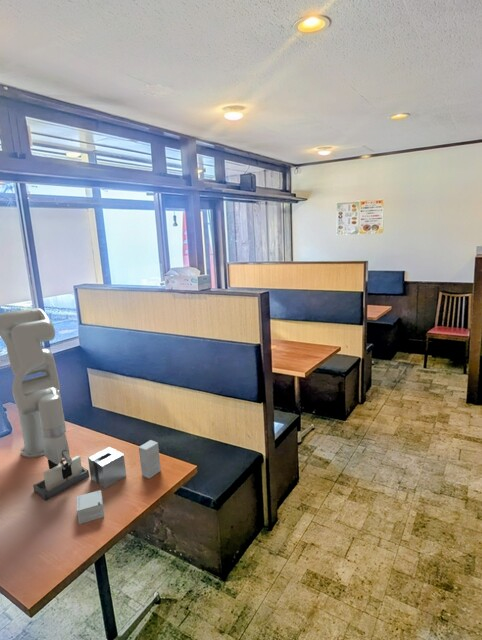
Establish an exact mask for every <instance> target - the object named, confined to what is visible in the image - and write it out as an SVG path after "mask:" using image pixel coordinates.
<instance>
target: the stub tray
mask: <svg viewBox="0 0 482 640" xmlns="http://www.w3.org/2000/svg"><path fill="white" fill-rule="evenodd" d="M82 472H83V473H81V474H79V475H77V476H75V477H73V478H72V479H70V480H68V481H66V482H64V483H62V484H61V485H59V486H57V487H55V488H53V489H51V490H50V491H47V490H46V486H45V480H44V479H43V480H41V481H38V482H37V483H35V484H33V492H34V493H36V494H37V495H38V496H39V497H41V499H43V500H44V501H48V500H50V499H52V498H53V497H55V496H57V495H59V494H60V493H62V492H64V491H66V490H68V489H70V488H71V487H73V486H76V485H77V484H78V483H80V482H82V481H84V480H86V479H87V478H89V477H90V470H88V469H86V468H85V467H83V466H82Z"/></svg>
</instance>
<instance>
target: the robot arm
mask: <svg viewBox="0 0 482 640" xmlns="http://www.w3.org/2000/svg"><path fill="white" fill-rule="evenodd" d="M55 336H56V330H55V327H54V324H53V323H52V321H51V319H50V317H49V316H48V314H46V312H45V311H44V310H43V309H42V308H41V307H40V308H39V307H37V308H27V309H21V310H13V311H7V312H2V313H0V338H1V340H2V341H3V342H4V344H5V347H6V350H7V351H6V352H7V356H8V360H9V364H10V368H11V372H12V374H13V376H14V378H13V381H12V388H11V394H12V396H13V399H14V402H15V405H16V409H17V412H18V418H19V422H20V429H21V433H22V440H23V444H24V446H23V448H22V449H21V456H22V457H23V458H24V457H25V458H30V459H31V458H38V457H41V456H44V457H45V459H47V465H48V468H49V469H48V470H50V469H52V468H54V467H56V466H58V465H60V464H61V466H62V469H61V470H62V476H63V479H66V478H68V477H70V476H71V475H72V470H71V464H72V463H71V462H72V457H71V456H70V455H71V454H70V453H71V452H70V448H69V444H68V443H69V442H68V439H67V436H66V431H67V428H66V421H65V415H64V410H63V404H62V403H63V402H62V395H61V392H60V391H61V384H60V379H59V375H58V371H57V370H58V369H57V365H56V361H55V357H54V354H53V353H52V351H51V350H50V349H48V348H43V347H42V343H44V342H49V341H53V340H54V339H55ZM40 373H44V374H42V375H38V376H33V377H30V378H26V377H27V376H32V375H35V374H40ZM25 378H26V379H25ZM64 462H67V463H65V465H64V464H63V463H64Z"/></svg>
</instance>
